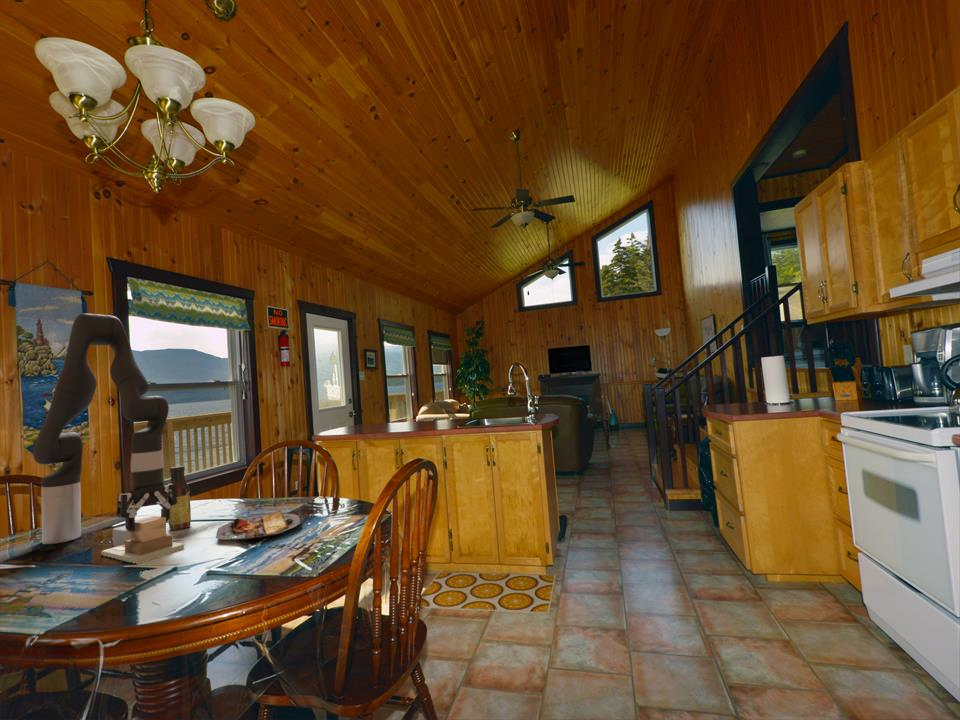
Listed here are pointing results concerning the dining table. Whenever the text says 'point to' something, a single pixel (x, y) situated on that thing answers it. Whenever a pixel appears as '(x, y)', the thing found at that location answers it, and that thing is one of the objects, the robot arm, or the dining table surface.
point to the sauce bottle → (180, 501)
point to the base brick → (148, 545)
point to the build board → (129, 557)
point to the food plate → (258, 526)
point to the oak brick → (149, 528)
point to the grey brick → (120, 536)
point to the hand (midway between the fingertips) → (148, 526)
